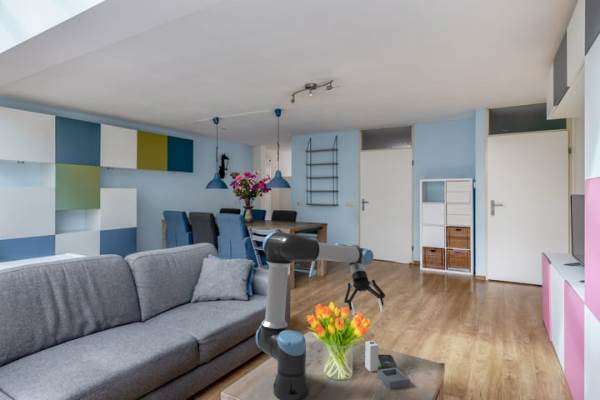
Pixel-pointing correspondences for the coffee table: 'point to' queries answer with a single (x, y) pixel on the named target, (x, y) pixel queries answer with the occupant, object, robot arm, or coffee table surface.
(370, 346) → the charger
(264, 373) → the coffee table surface
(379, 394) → the coffee table surface
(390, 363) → the smartphone
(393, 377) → the charging cradle
